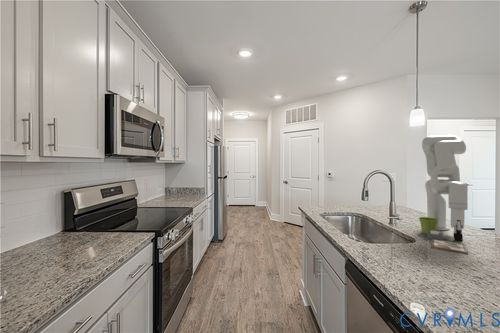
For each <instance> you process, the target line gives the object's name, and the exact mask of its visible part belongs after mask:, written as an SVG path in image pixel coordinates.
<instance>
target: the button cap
mask: <svg viewBox="0 0 500 333" xmlns="http://www.w3.org/2000/svg"><path fill="white" fill-rule="evenodd" d="M440 233H441V232H440V230H430V234H436V235H440Z"/></svg>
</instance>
